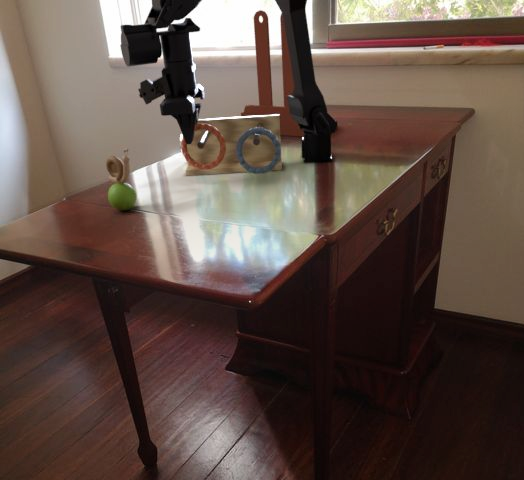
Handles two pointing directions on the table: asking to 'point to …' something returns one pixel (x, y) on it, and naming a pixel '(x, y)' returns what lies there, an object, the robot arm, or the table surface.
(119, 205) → the snail figurine
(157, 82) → the robot arm
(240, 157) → the slate ring
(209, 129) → the terracotta ring
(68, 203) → the table surface
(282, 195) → the table surface
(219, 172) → the peg rack
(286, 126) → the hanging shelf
